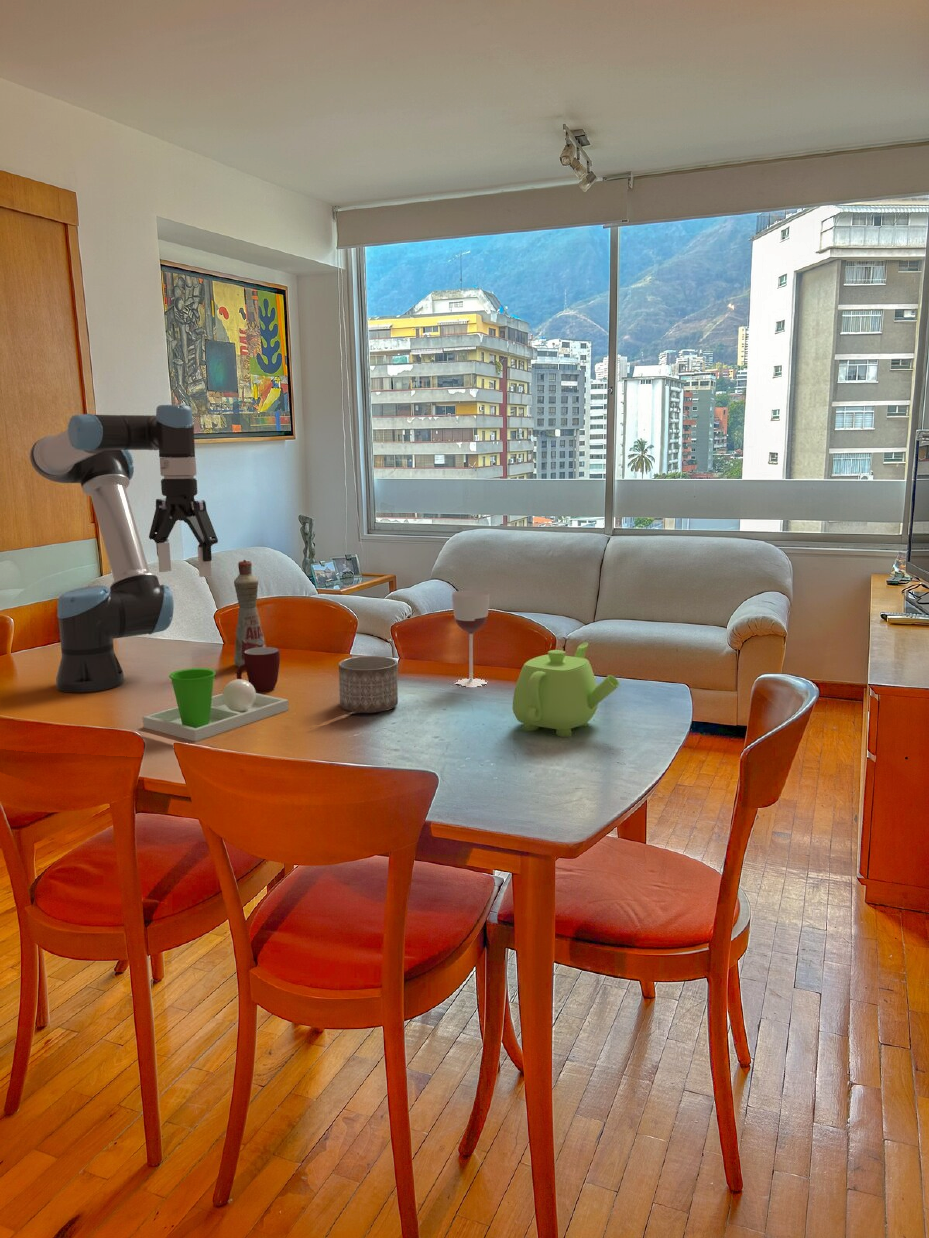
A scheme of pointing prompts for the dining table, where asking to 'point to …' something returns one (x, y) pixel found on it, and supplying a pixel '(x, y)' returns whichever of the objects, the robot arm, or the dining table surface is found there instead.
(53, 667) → the dining table surface
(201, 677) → the cup
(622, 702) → the dining table surface
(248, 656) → the mug
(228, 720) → the tray
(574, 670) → the teapot
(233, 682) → the white ball
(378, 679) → the planter
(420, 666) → the dining table surface
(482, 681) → the wineglass
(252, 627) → the bottle
